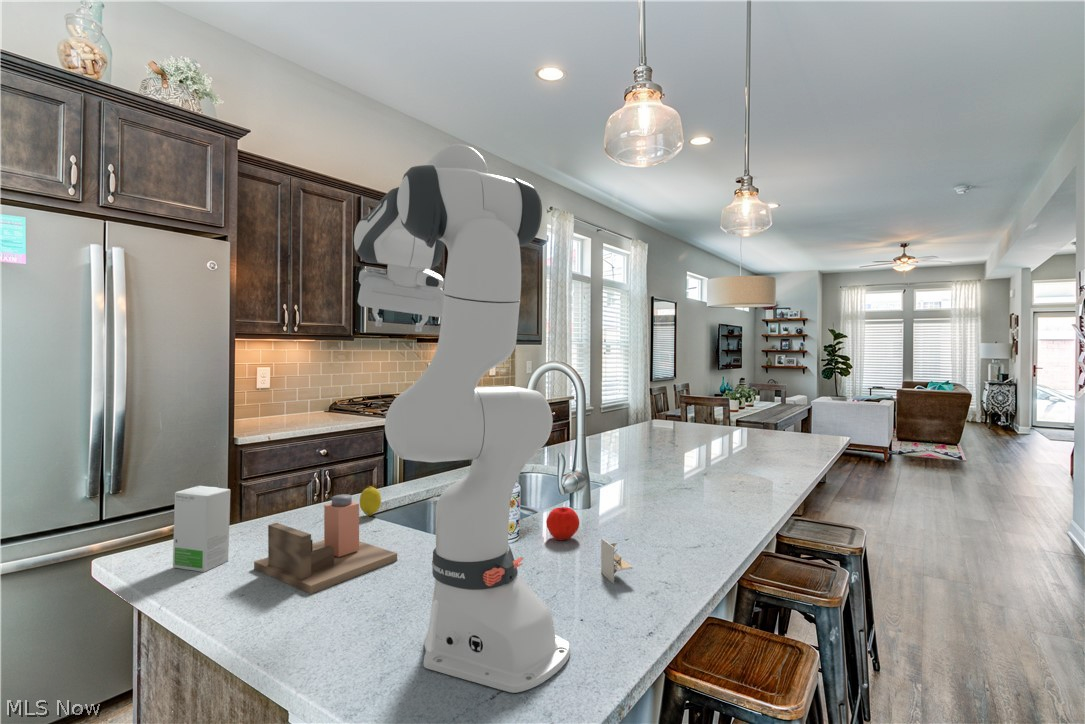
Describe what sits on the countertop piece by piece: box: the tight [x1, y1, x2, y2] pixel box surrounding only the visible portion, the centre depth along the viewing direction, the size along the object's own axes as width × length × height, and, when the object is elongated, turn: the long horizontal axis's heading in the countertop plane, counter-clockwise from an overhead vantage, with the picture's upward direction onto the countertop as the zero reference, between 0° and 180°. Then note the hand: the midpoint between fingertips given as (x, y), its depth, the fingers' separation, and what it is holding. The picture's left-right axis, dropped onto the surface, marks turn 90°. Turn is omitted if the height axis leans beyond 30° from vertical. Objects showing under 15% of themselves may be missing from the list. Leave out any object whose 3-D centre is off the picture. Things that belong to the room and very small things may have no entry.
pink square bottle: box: [323, 493, 360, 557], centre depth 118 cm, size 5×5×12 cm
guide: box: [253, 522, 398, 595], centre depth 115 cm, size 20×20×10 cm
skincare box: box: [172, 485, 231, 573], centre depth 114 cm, size 8×7×16 cm
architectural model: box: [600, 537, 633, 584], centre depth 109 cm, size 3×7×7 cm, turn 18°
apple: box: [545, 506, 580, 541], centre depth 131 cm, size 8×8×7 cm
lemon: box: [359, 485, 382, 517], centre depth 149 cm, size 6×6×8 cm
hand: (398, 328), depth 134 cm, fingers open, 8 cm apart
